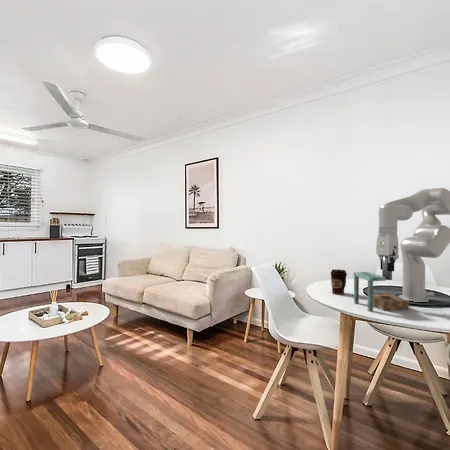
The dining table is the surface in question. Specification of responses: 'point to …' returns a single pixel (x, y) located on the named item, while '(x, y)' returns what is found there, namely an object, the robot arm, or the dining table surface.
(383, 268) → the peg
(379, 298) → the socket station
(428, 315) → the dining table surface
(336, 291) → the coffee cup
